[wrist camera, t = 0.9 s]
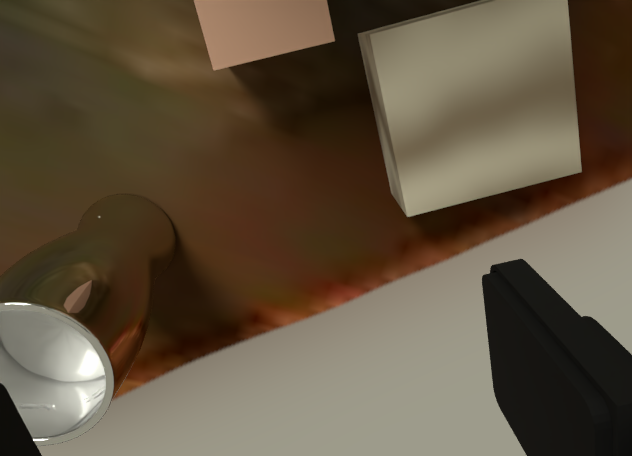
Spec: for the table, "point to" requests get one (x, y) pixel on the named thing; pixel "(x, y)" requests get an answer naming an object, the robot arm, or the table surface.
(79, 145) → the table surface
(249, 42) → the terracotta block
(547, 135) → the ash base block
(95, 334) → the beer glass
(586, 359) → the robot arm
